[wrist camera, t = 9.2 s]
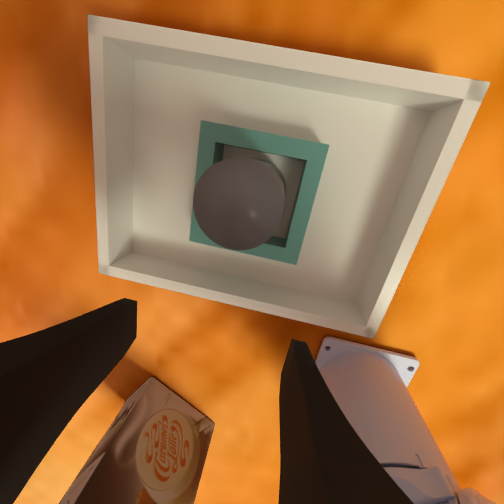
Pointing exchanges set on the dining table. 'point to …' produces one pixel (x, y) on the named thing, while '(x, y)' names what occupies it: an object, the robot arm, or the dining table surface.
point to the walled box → (276, 152)
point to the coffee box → (146, 453)
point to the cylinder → (239, 202)
